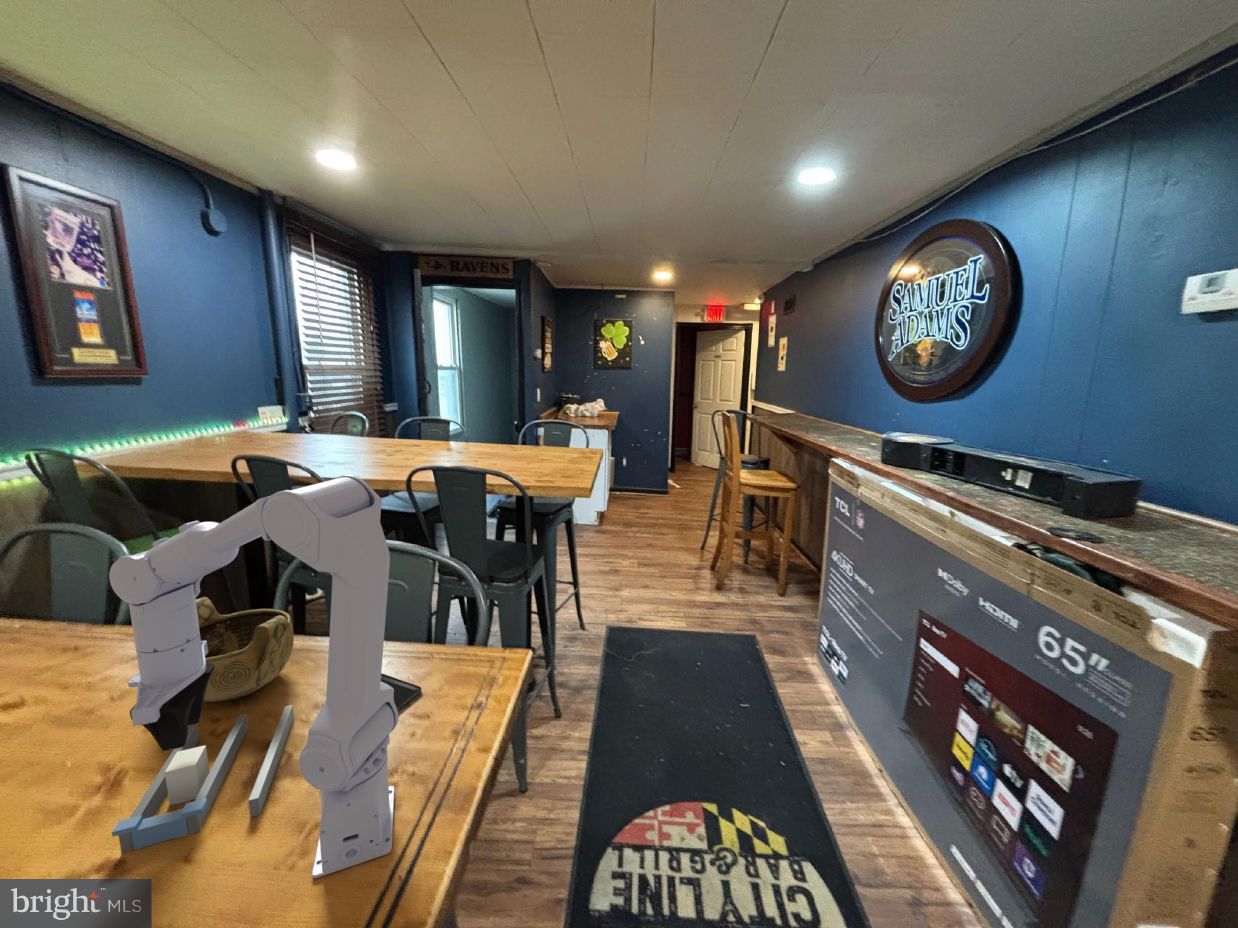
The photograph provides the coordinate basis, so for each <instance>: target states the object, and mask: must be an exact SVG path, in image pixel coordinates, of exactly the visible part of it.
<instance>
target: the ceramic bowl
mask: <svg viewBox="0 0 1238 928" xmlns="http://www.w3.org/2000/svg"><path fill="white" fill-rule="evenodd" d="M195 599H196V607H197V615H198V623H199V631H200V639H201V641H207V647H208V653H207V654H206V656H205V660H206V664H209V663H212V664H214V665H215V669H214V671H213V673H212V675H211V677H210V679H209V682H208V685H207V688H206V692H205V697H204V702H206V703H208V702H209V703H214V702H216V703H217V702H223V701H231V700H234V699H238V698H241V697H245V696H247V695H250V694H253V693H254V692H256V691H258V690H259V689H261V688H262V687H264V686H266V685H267V684H269V683H270V682H272V681H273V680H274V679H275V678H276V677H277V676H278V675H279V674H280V673H281V672H282V671H283V670H284V668H285V667H286V665H287V664H288V662H289V660H290V658H291V655H292V653H293V649H294V648H293V647H294V639H295V637H294V636H295V635H294V628H293V622H292V620H291V616H290V614H289V613H288V612H285V611H283V610H279V609H273V608H257V609H249V610H244V611H242V610H241V611H238V612H233V613H230V614H220V613H219V612H218V611H217V610H216V608H215V606H214V604H213V601H211V599H209V597H206V596H203V597H200V598H195Z"/></svg>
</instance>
